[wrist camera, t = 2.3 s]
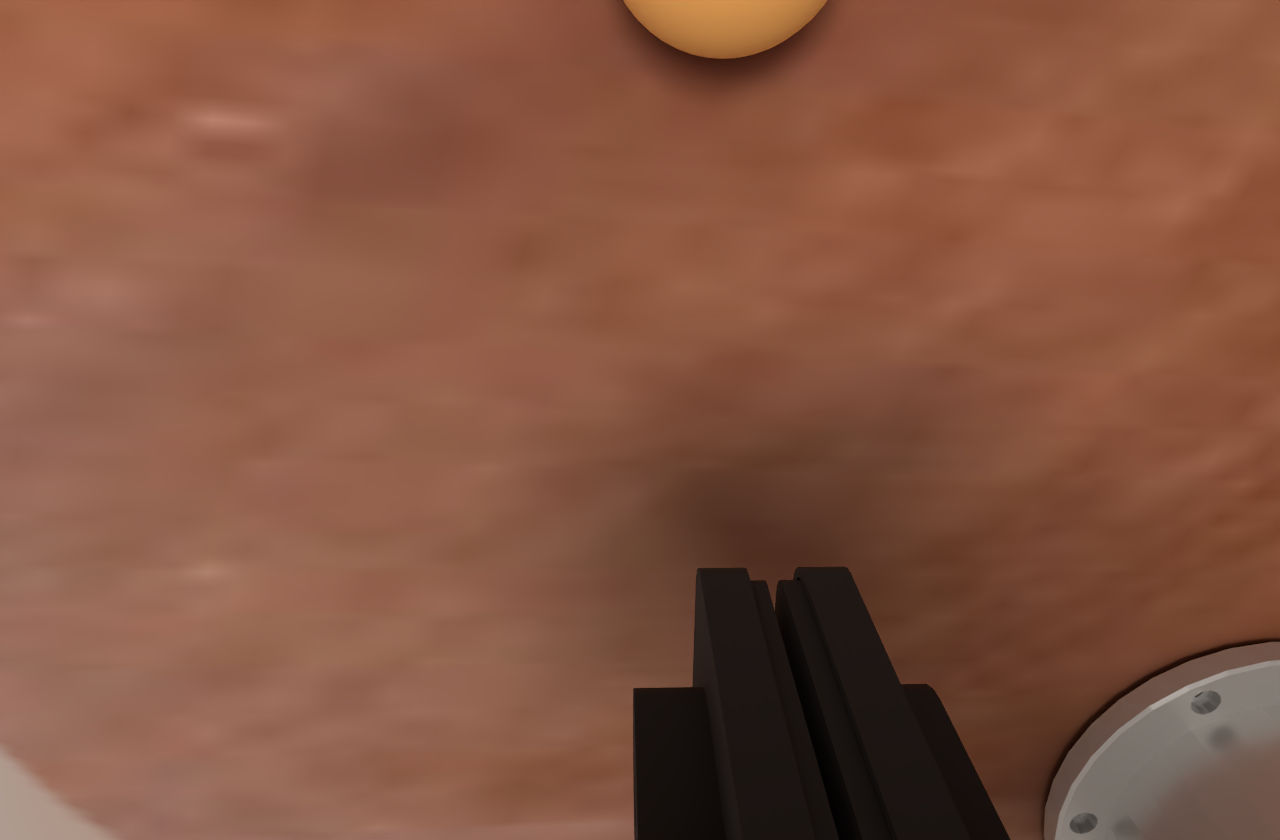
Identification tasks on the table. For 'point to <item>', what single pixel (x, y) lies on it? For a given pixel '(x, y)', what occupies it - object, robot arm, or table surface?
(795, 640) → the robot arm
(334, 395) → the table surface
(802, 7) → the ball
